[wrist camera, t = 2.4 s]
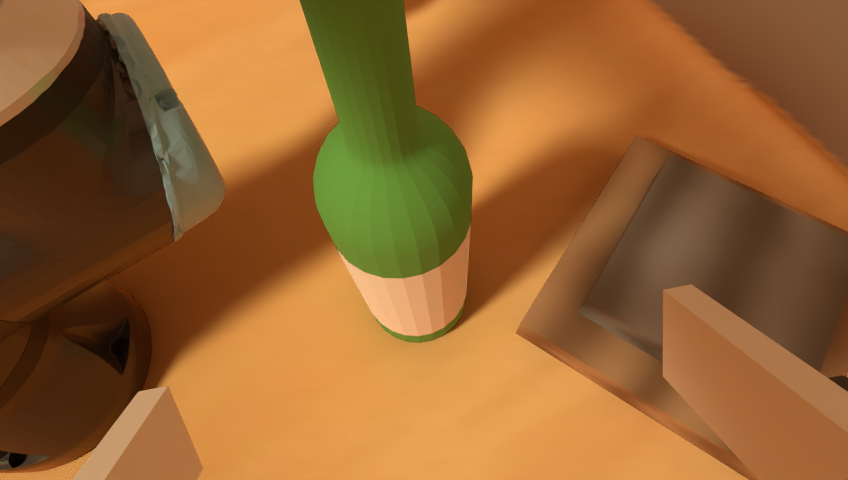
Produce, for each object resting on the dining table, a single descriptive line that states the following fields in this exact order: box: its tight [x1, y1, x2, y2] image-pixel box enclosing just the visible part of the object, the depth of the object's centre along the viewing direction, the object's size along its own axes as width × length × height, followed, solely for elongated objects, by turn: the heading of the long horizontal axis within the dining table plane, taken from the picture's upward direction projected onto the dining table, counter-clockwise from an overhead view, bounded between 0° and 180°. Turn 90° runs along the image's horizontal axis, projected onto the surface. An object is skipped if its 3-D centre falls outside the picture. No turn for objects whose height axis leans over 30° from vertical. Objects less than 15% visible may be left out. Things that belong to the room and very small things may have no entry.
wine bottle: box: [300, 0, 473, 343], centre depth 26 cm, size 8×8×30 cm
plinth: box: [516, 135, 848, 480], centre depth 36 cm, size 20×20×6 cm
